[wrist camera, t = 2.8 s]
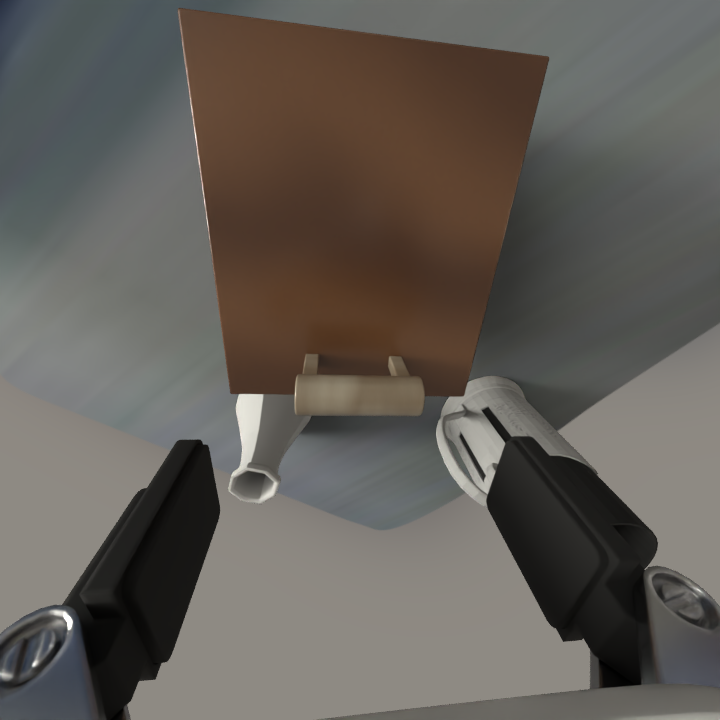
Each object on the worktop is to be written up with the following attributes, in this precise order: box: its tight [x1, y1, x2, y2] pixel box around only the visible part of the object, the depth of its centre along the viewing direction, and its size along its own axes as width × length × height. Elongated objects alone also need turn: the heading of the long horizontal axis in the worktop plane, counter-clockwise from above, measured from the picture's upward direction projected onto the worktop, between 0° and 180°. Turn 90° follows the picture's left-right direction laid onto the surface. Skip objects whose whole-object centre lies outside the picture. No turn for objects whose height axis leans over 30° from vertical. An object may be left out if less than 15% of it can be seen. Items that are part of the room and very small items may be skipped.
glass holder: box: [436, 376, 658, 569], centre depth 24 cm, size 9×14×15 cm, turn 57°
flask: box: [228, 394, 311, 504], centre depth 25 cm, size 7×7×10 cm
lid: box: [178, 8, 549, 416], centre depth 13 cm, size 16×14×5 cm
